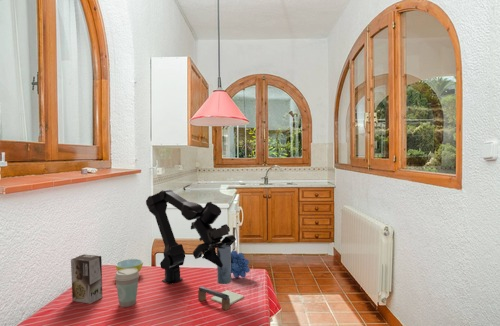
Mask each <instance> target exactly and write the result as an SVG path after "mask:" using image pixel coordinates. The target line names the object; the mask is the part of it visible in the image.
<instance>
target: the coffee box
mask: <svg viewBox="0 0 500 326" xmlns="http://www.w3.org/2000/svg"><path fill="white" fill-rule="evenodd" d="M102 266H103V264H102V255H94V254H81V255H78V256H75V257H74V258H71V259H70V268H71V270H70V271H71V292H72V294H71V296H72V302H77V303H84V304H92V303H95V302H97V301H98V300H100V299H102V298H103V270H102V269H103V268H102Z"/></svg>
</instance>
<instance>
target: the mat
mask: <svg viewBox="0 0 500 326" xmlns="http://www.w3.org/2000/svg"><path fill="white" fill-rule="evenodd" d="M221 293H223V294H226V295H229V298H230V306H231V305H233V304H234V303H236V302H239V301H240V300H242V299H244V298H245V296H244V295H242V294H239V293H236V292H233V291H231V290H227V289H226V290H224V291H222V292H221ZM222 299H223V298H220V297H217V296H214V295H213V296H212V297H210V301H214V302H217V303H220V304H222Z"/></svg>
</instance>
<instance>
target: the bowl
mask: <svg viewBox="0 0 500 326" xmlns="http://www.w3.org/2000/svg"><path fill="white" fill-rule="evenodd" d="M143 264H144V261H143V260H142V259H141V258H140V259H138V258H131V259H130V258H128V259H123V260H121V261H120V260H119V261H118V262H117V263H116V264H115V268H116V272H117V271H119V270H121V269H125V268H136V269H137V270H138V272H139V273H140V271H141V270H142V268H143Z"/></svg>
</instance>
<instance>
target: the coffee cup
mask: <svg viewBox="0 0 500 326" xmlns="http://www.w3.org/2000/svg"><path fill="white" fill-rule="evenodd" d="M139 277H140V271H139V272H138V270H137V269H136V268H125V269H121V270H119V271H117V270H116V272H115V275H114V280H115V282H116V283H115V284H116V290H117V291H116V292H117V298H118V305H119V307H121V308H129V307H132V306H134V305H135V304H136V303H137V297H138V285H139V284H138V283H139Z"/></svg>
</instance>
